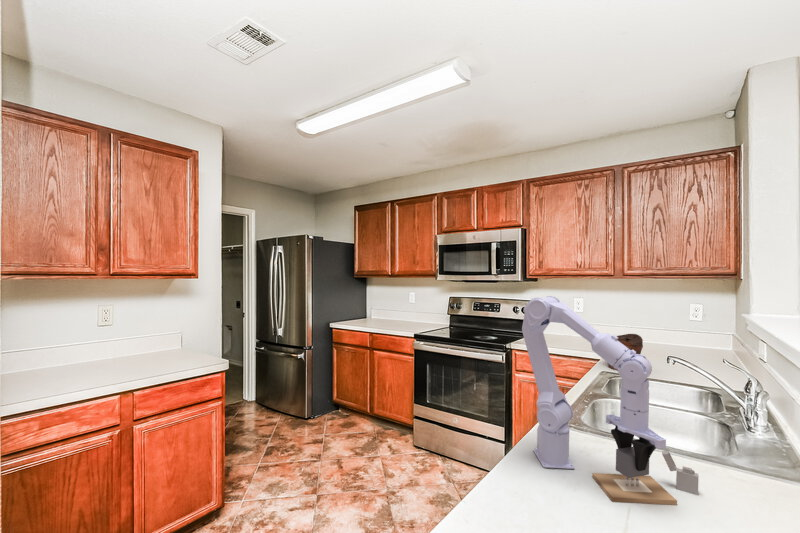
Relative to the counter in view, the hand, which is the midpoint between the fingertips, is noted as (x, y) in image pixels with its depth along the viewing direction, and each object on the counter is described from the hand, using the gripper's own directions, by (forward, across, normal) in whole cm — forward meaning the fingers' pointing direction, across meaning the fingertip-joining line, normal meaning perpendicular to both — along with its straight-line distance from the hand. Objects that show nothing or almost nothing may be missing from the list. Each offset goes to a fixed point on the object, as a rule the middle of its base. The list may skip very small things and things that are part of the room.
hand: (632, 465), depth 91 cm
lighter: (+6, +2, +12) cm, 14 cm away
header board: (+6, 0, 0) cm, 6 cm away
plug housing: (+2, 0, 0) cm, 2 cm away
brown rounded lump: (+6, -88, +89) cm, 126 cm away
